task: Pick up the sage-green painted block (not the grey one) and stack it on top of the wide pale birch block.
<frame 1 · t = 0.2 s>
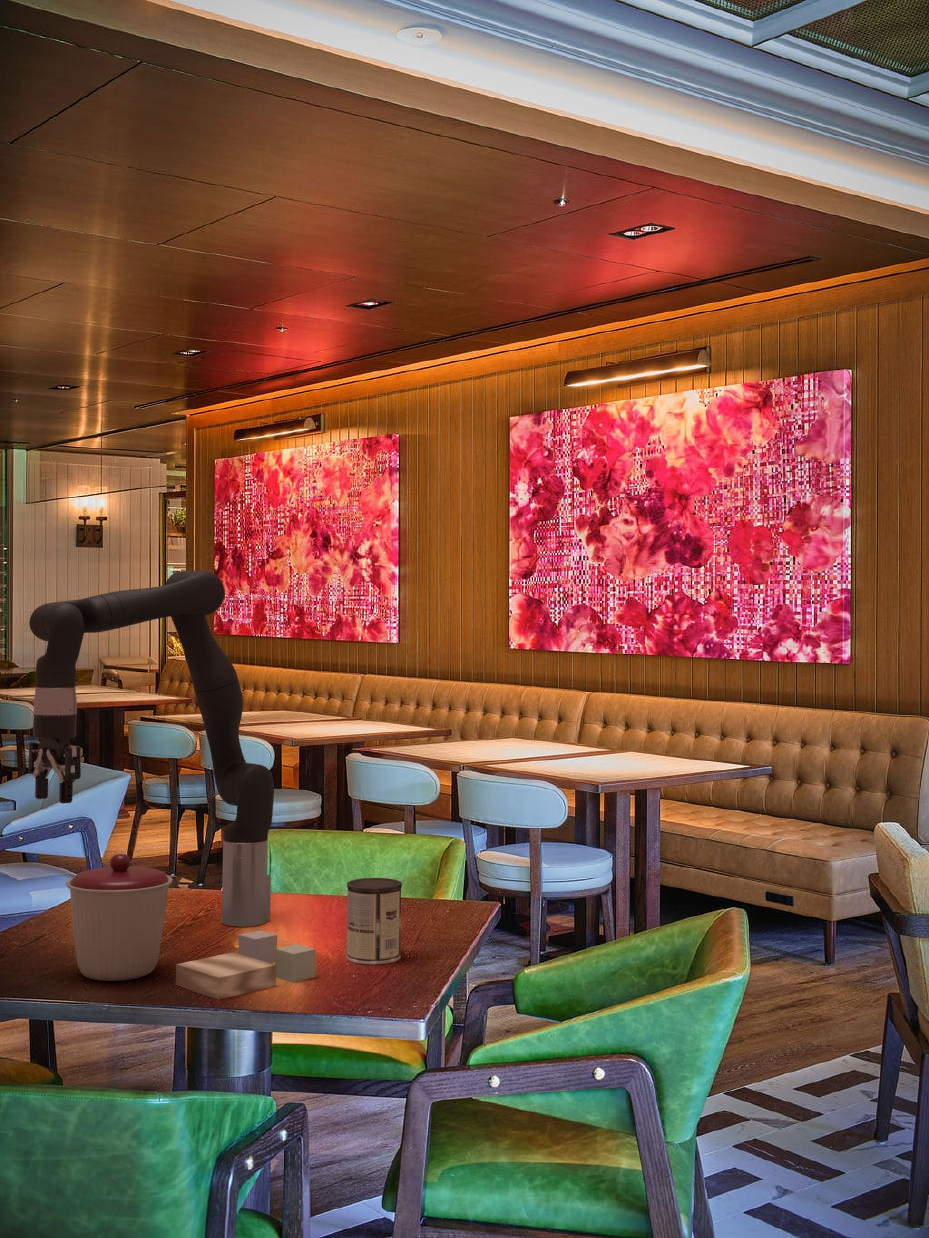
hand: (53, 800, 230), 29 cm above the table, fingers open, 8 cm apart
coffee can: (373, 959, 235), on the table
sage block: (295, 977, 221), on the table
birch block: (225, 987, 215), on the table
canister: (117, 975, 221), on the table
grey block: (257, 961, 231), on the table
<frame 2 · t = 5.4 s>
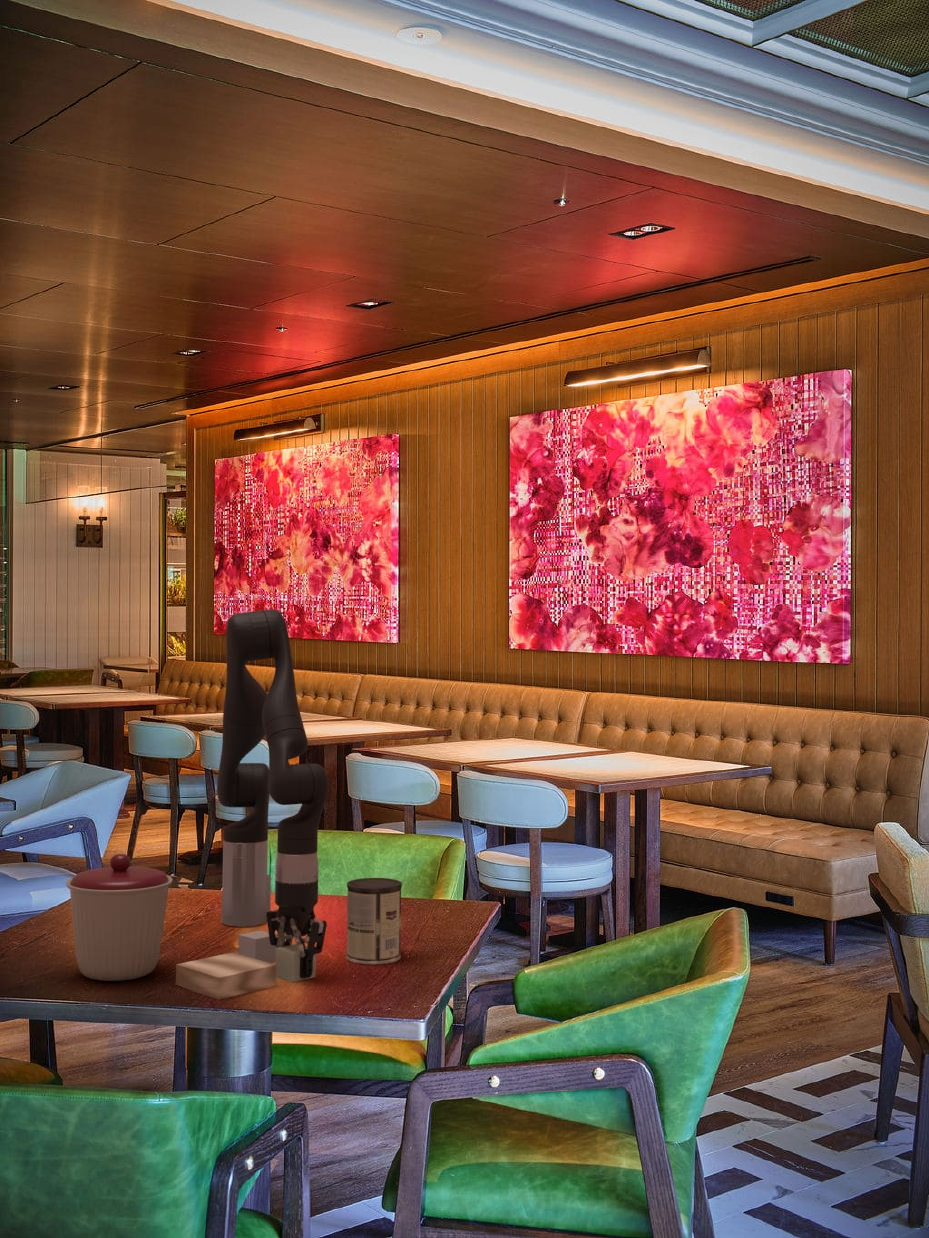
hand: (295, 973, 221), 0 cm above the table, fingers closed on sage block, 5 cm apart
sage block: (295, 976, 221), on the table, touching gripper
everything else where it was.
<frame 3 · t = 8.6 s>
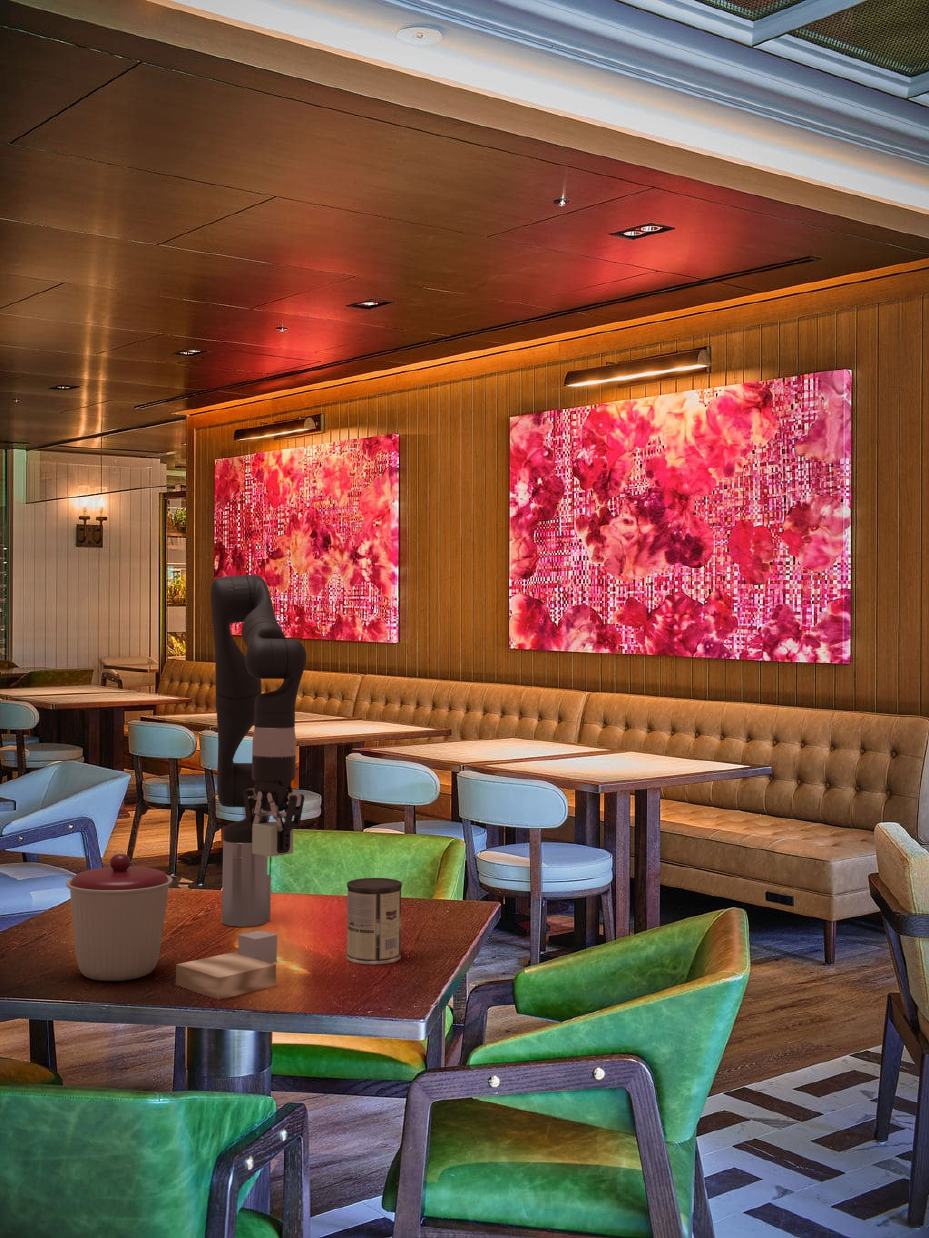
hand: (272, 850, 219), 23 cm above the table, fingers closed on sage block, 5 cm apart
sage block: (272, 853, 219), point 22 cm above the table, touching gripper
everything else where it was.
when the fingers open (5 cm above the table, at t = 12.0 s): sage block drops 1 cm, resting on birch block.
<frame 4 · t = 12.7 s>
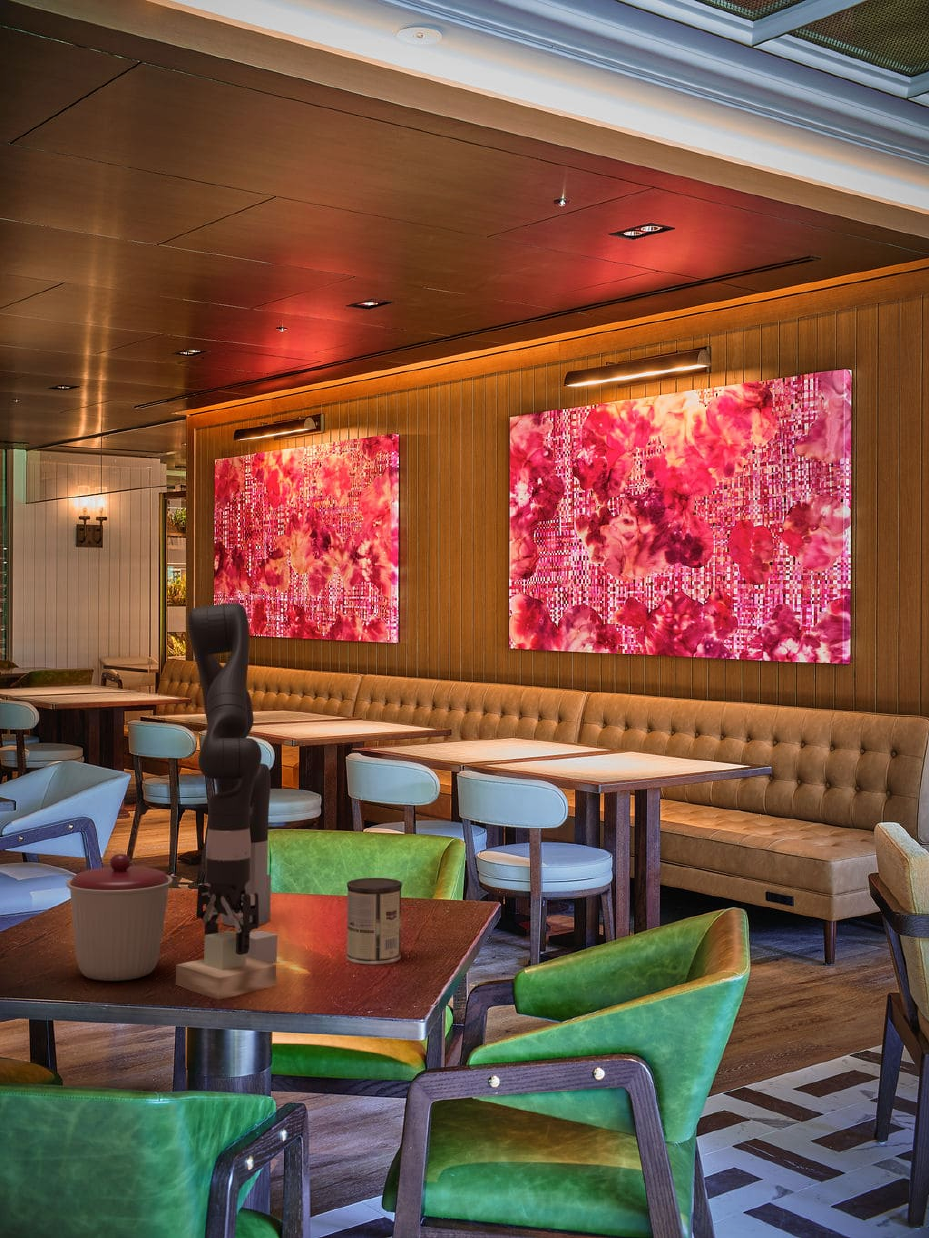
hand: (226, 949, 215), 6 cm above the table, fingers open, 8 cm apart
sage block: (224, 964, 215), point 3 cm above the table, touching birch block
birch block: (225, 988, 215), on the table, touching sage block
everything else where it was.
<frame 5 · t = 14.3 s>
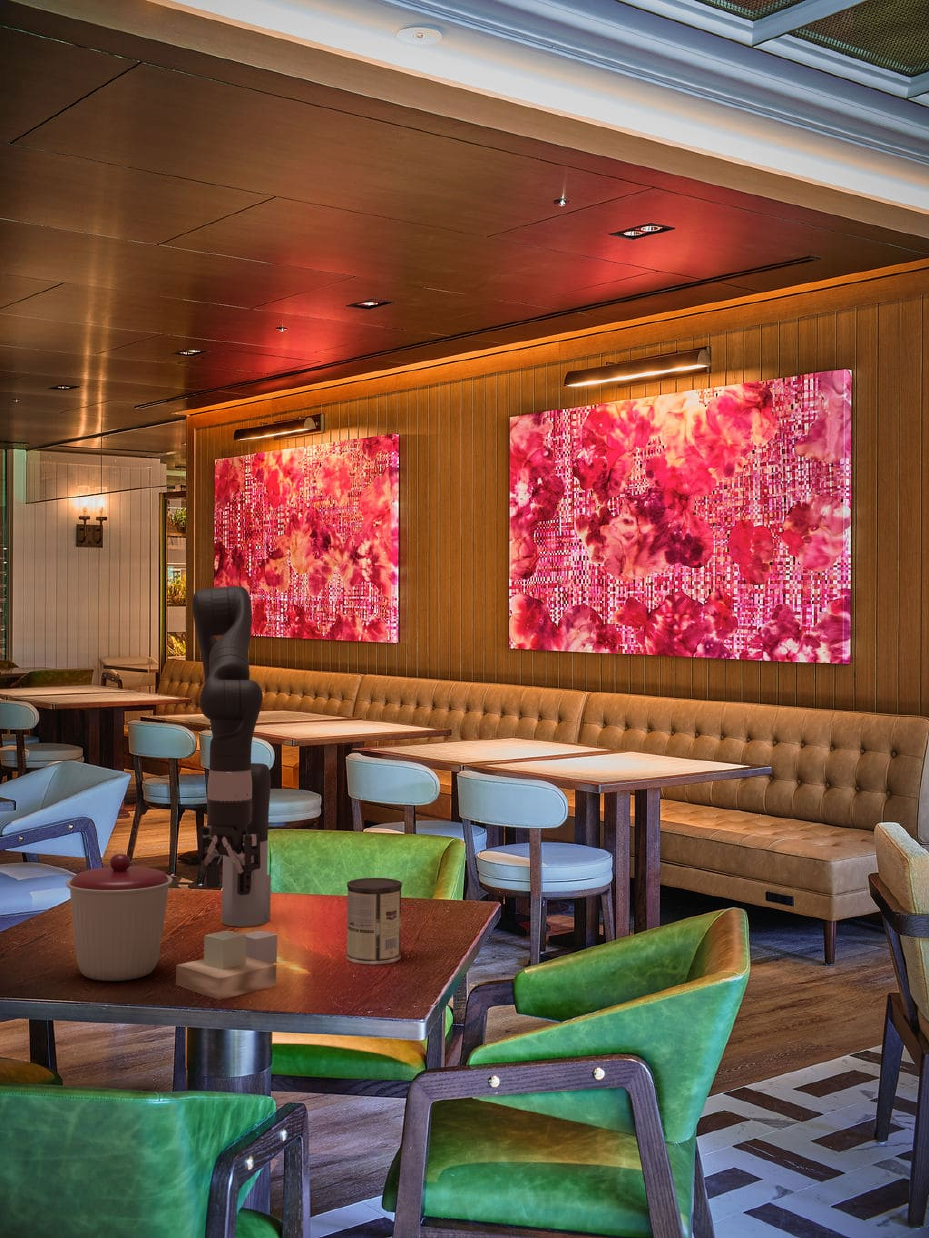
hand: (228, 890, 215), 16 cm above the table, fingers open, 8 cm apart
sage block: (224, 964, 215), point 3 cm above the table
birch block: (226, 988, 215), on the table
everything else where it was.
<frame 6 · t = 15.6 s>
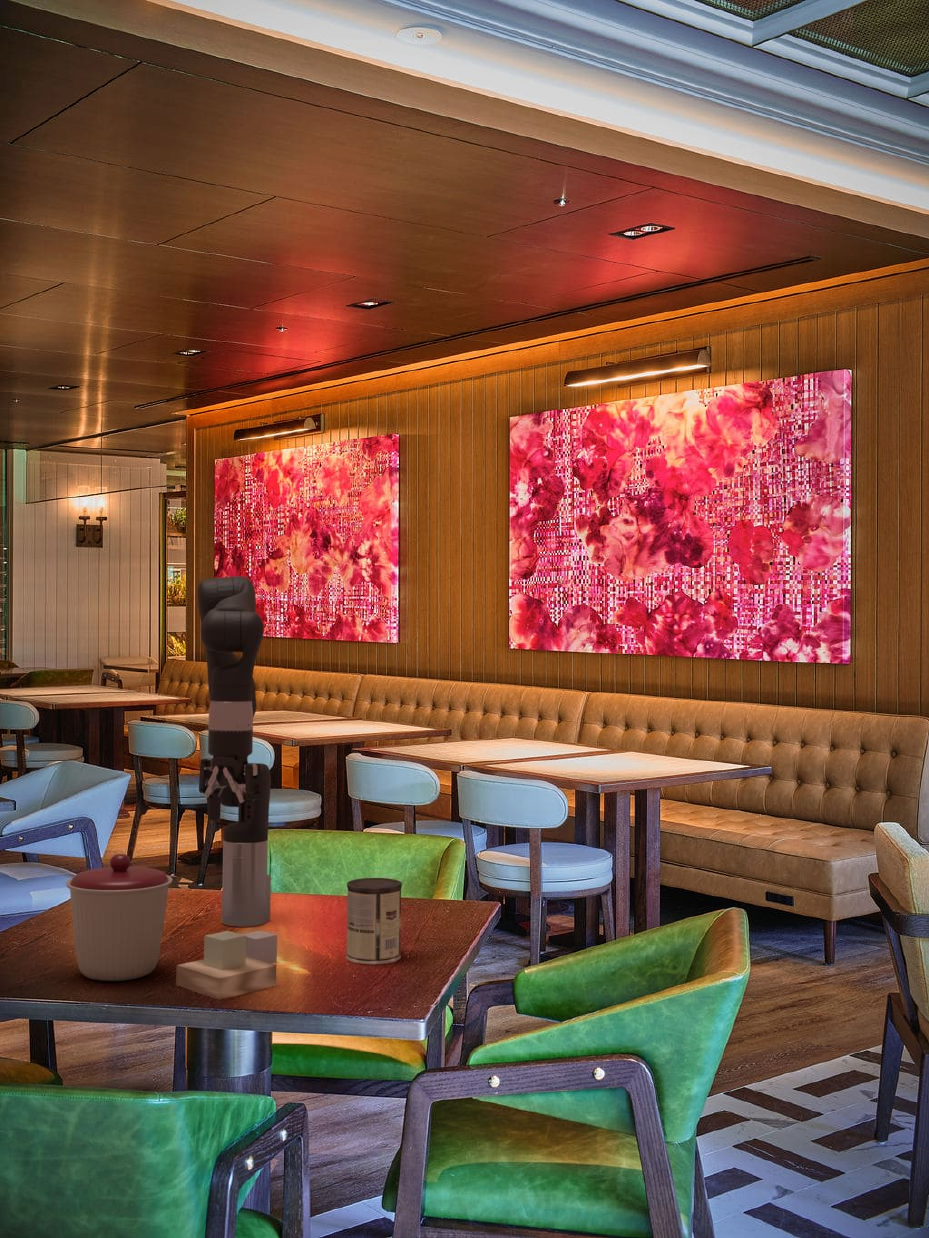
hand: (228, 821, 215), 28 cm above the table, fingers open, 8 cm apart
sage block: (224, 964, 215), point 3 cm above the table, touching birch block
birch block: (226, 988, 215), on the table, touching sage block
everything else where it was.
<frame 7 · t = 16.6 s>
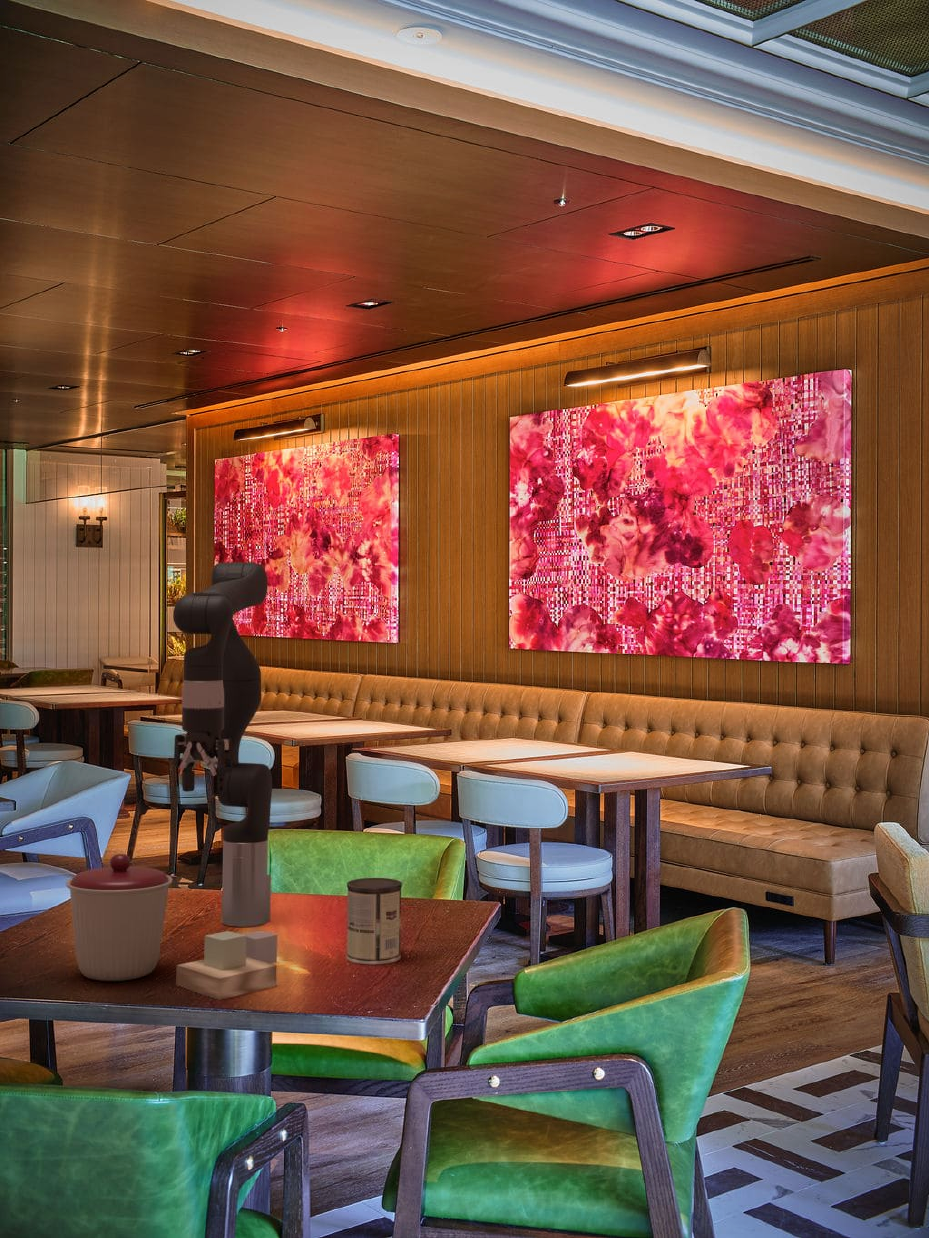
hand: (202, 793, 230), 31 cm above the table, fingers open, 8 cm apart
nothing on the table moved.
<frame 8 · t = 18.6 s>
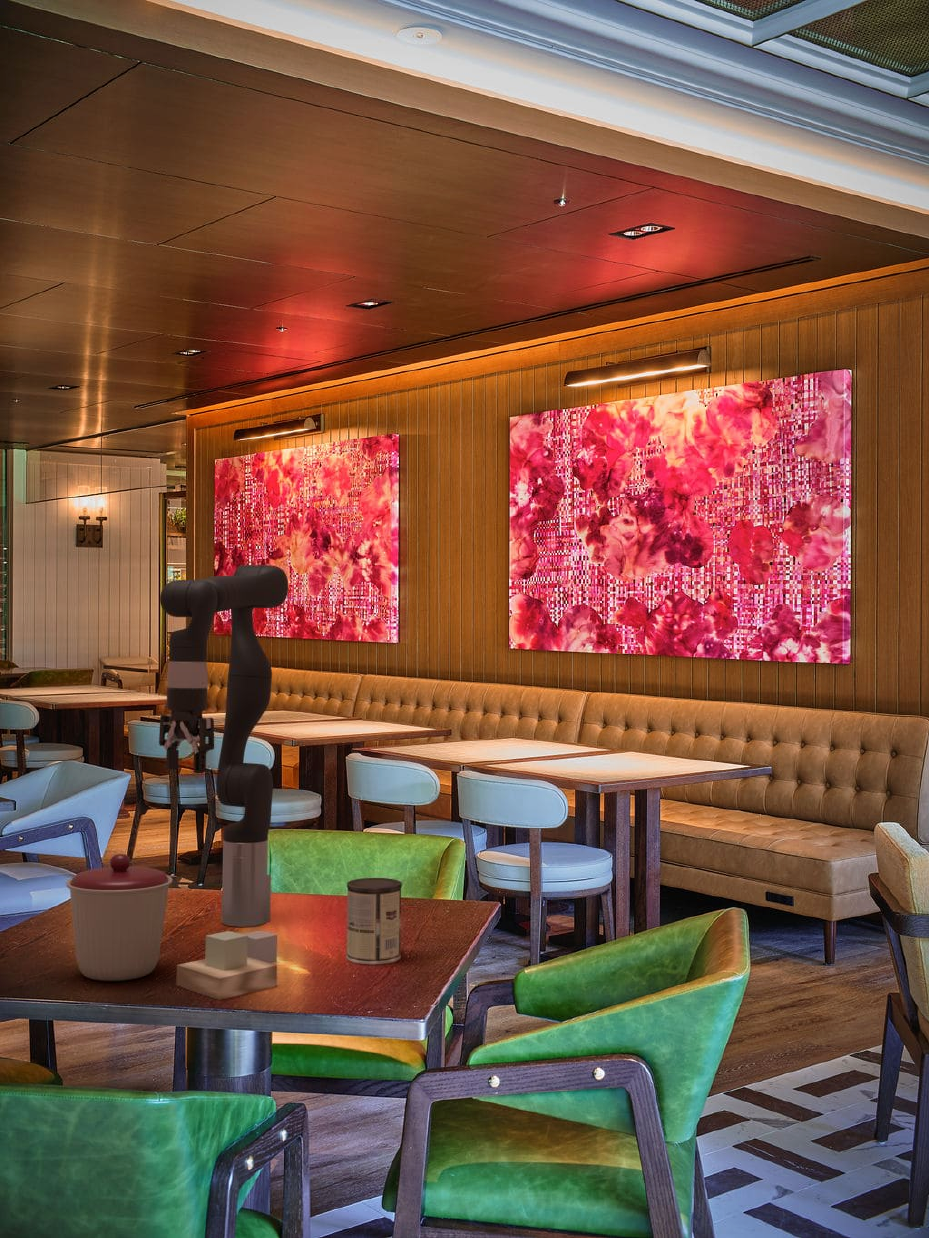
hand: (185, 771, 238), 34 cm above the table, fingers open, 8 cm apart
nothing on the table moved.
at the end: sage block inside the target area on the birch block (0.1 cm from its centre), point 4.0 cm above the birch block's base; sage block tilted 0°; grey block moved 0.1 cm from its start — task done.
